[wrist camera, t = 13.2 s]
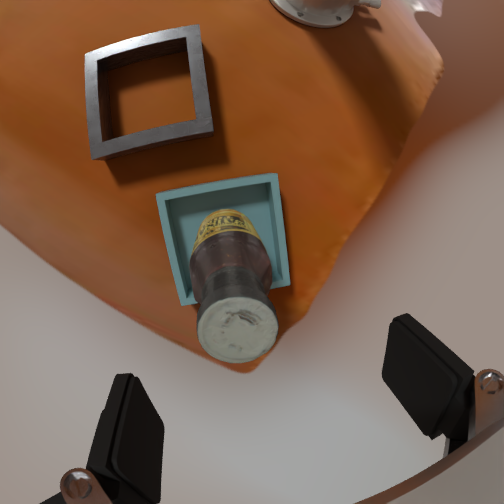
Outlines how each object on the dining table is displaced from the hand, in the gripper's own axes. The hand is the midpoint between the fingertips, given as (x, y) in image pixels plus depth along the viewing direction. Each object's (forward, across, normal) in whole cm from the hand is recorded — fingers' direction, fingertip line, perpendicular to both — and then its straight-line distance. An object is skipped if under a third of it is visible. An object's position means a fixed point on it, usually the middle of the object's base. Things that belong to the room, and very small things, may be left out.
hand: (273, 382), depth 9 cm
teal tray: (+25, 0, +1) cm, 25 cm away
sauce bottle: (+24, 0, +1) cm, 24 cm away
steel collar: (+25, +6, -17) cm, 31 cm away
